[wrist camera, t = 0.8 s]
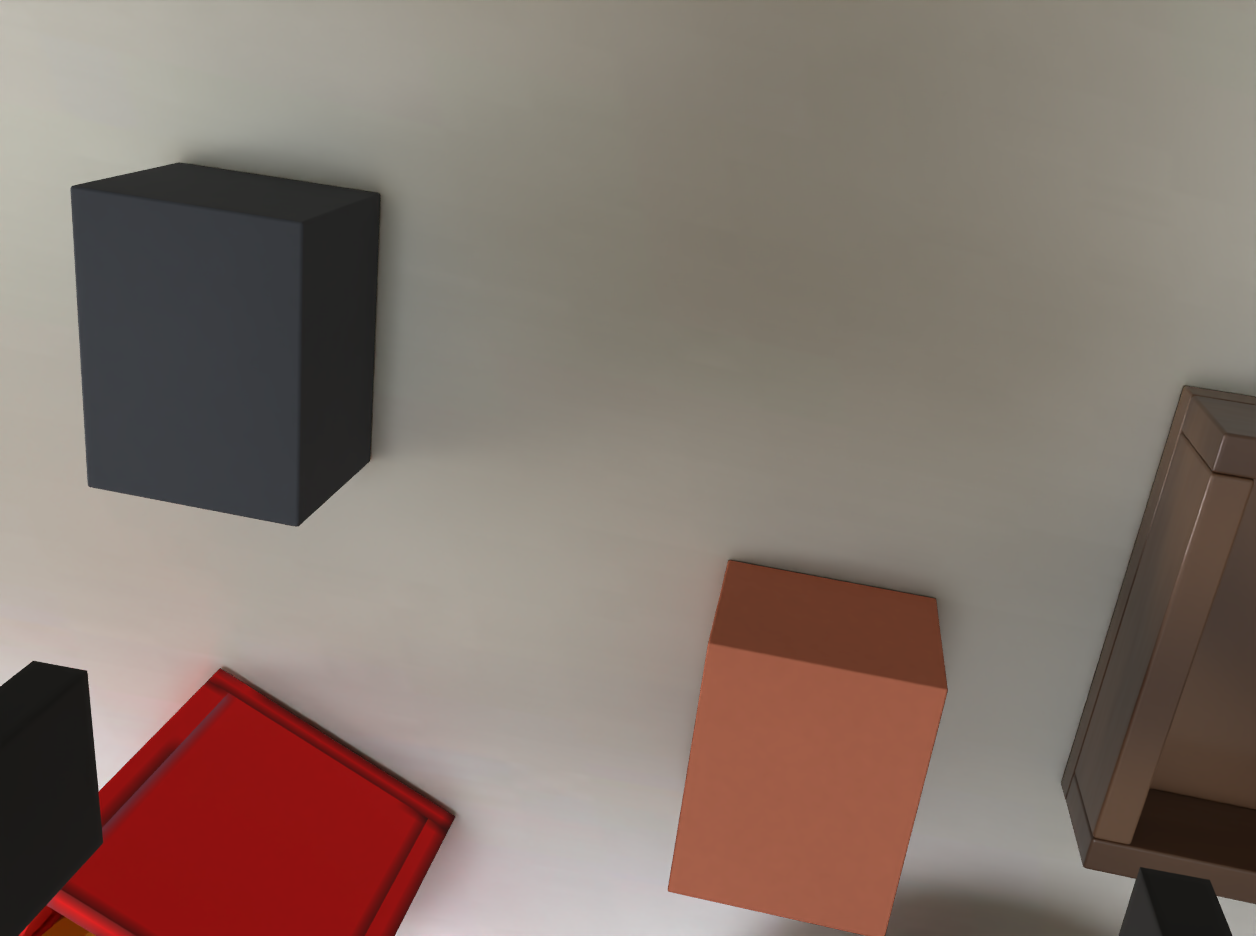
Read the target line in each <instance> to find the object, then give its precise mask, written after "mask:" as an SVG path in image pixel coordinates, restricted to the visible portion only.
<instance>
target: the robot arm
mask: <svg viewBox="0 0 1256 936" xmlns="http://www.w3.org/2000/svg"><path fill="white" fill-rule="evenodd" d="M102 844H103V834H102V824H101V813H100V802H99V792H98V781H97V770H96V760H95V749H94V738H93V728H92V717H91V706H90V696H89V685H88V674H87V671H85V670H80V669H74V668H69V667H64V666H58V665H53V664H48V663H42V662H37V661H32V662H31V663H30V664H29V665H27V666H26V667H25V668H23V669H22V670H21V671H20V672H18V673H17V674H16V675H14V676H13V677H12V678H11V679H9V680H8V681H7V682H6V683H4V684H3V685H2V686H0V936H19V935H20V934H21V932H22V931H23V930H24V929H25V928H26V927H27V926H28V925H29V924H30V923H31V921H32V920H33V919H34V918H35V917H36V916H37V915H38V914H39V913H40V912H41V911H42V909H43V908H44V907H45V906H46V905H47V904H48V903H49V902H50V901H51V900H52V899H53V897H54V896H55V895H56V894H57V893H58V892H59V891H60V890H61V889H62V888H63V886H64V885H65V884H66V883H67V882H68V881H69V880H70V879H71V878H72V877H73V876H74V874H75V873H76V872H77V871H78V870H79V869H80V868H81V867H82V866H83V865H84V864H85V862H86V861H87V860H88V859H89V858H90V857H91V856H92V855H93V854H94V853H95V851H96V850H97V849H98V848H99V847H100V846H101V845H102ZM1119 936H1232V933H1231V931H1230V928H1229V926H1228V923H1227V921H1226V918H1225V916H1224V914H1223V911H1222V909H1221V906H1220V904H1219V901H1218V899H1217V896H1216V894H1215V891H1214V889H1213V886H1212V884H1211V881H1210V880H1208V879H1203V878H1197V877H1192V876H1187V875H1181V874H1176V873H1170V872H1165V871H1160V870H1154V869H1149V868H1144V867H1140V868H1139V872H1138V875H1137V878H1136V881H1135V884H1134V888H1133V891H1132V894H1131V897H1130V901H1129V904H1128V907H1127V910H1126V914H1125V917H1124V920H1123V923H1122V927H1121V930H1120V933H1119Z"/></svg>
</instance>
